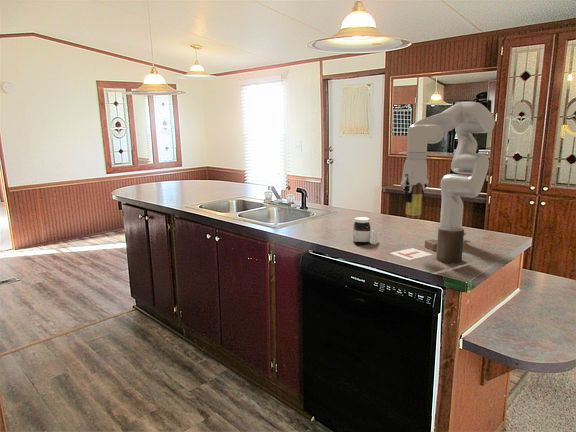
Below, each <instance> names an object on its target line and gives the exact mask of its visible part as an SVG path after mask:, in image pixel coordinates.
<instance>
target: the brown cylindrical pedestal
mask: <svg viewBox="0 0 576 432" xmlns="http://www.w3.org/2000/svg"><path fill="white" fill-rule="evenodd" d="M464 231H465V228H463V227H462V228H460V227H455V226H452V225H451V226H441V227H440V226H438V228H437V237H438V239H437V250H436V253H435V254H436V256H435V259H436V261H438V262H439V263H440V262H441V263H444V264H460V263H462V261H463V260H462V259H463V251H464V243H463V239H464V240H465V238H464V237H465V236H464Z"/></svg>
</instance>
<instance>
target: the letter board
mask: <svg viewBox="0 0 576 432" xmlns="http://www.w3.org/2000/svg"><path fill="white" fill-rule="evenodd" d="M389 254H390V255H392V256H395V257H398V258H402V259H405V260H408V261H411V260H415V259H420V258H423V257H427V256H432V255H433V253H430V252H427V251H423V250H420V249H417V248H414V247H411V248H406V249H402V250H397V251H393V252H389Z"/></svg>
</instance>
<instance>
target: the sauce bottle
mask: <svg viewBox="0 0 576 432" xmlns="http://www.w3.org/2000/svg"><path fill="white" fill-rule="evenodd" d="M408 188H409V186H408ZM411 193H412V202H411V203H409V202H405V217H406V219H410V220H411V219H412V220H418V219H421V218H422V213H423V212H422V210H423V201H422V194H423V193H422V185H421V183H417V184H416V185H414V186H413V187H412V190H411Z"/></svg>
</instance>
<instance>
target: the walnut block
mask: <svg viewBox="0 0 576 432" xmlns="http://www.w3.org/2000/svg"><path fill="white" fill-rule="evenodd" d="M424 248H426V249H428V250H430V251H432V252H433V251H436V252H437V239H429V240H428V239H426V240H424Z"/></svg>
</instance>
